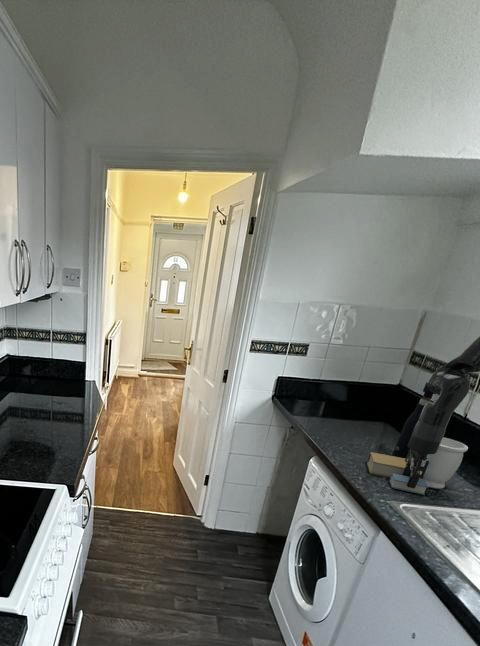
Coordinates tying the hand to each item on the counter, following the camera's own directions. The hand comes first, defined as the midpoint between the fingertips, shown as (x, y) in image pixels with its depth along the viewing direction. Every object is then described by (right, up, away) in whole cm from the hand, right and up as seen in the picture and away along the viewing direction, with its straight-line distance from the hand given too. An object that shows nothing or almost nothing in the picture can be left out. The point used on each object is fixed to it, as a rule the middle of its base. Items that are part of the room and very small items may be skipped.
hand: (408, 482), depth 135 cm
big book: (+1, +3, +11) cm, 12 cm away
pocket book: (0, -2, +1) cm, 2 cm away
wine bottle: (+14, +6, +22) cm, 26 cm away
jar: (+11, -1, +5) cm, 12 cm away
